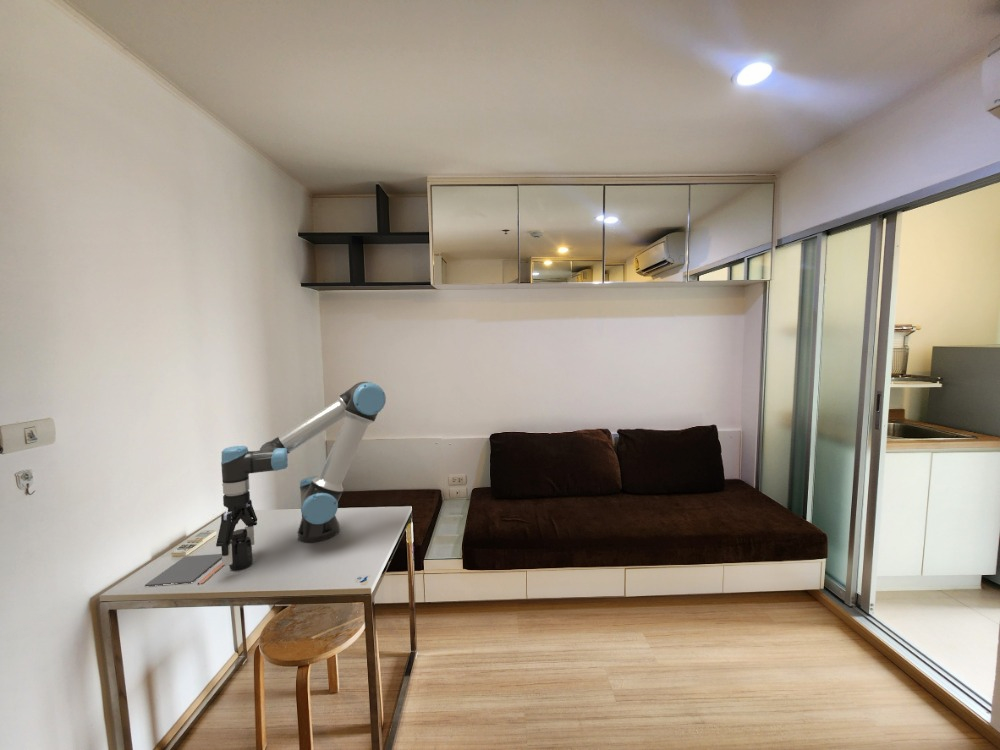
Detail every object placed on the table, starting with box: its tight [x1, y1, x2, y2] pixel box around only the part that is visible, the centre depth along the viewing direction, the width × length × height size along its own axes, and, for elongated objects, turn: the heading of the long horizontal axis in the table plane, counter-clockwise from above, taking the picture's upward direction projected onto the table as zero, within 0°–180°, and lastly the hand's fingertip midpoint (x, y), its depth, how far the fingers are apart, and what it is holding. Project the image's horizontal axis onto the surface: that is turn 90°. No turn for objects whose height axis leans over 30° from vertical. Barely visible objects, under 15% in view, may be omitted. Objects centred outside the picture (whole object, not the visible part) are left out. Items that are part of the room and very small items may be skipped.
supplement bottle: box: [228, 528, 254, 572], centre depth 136 cm, size 7×7×12 cm
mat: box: [144, 553, 222, 587], centre depth 135 cm, size 14×18×1 cm
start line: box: [197, 562, 225, 584], centre depth 136 cm, size 2×20×1 cm, turn 5°
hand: (239, 554), depth 136 cm, fingers open, 13 cm apart
